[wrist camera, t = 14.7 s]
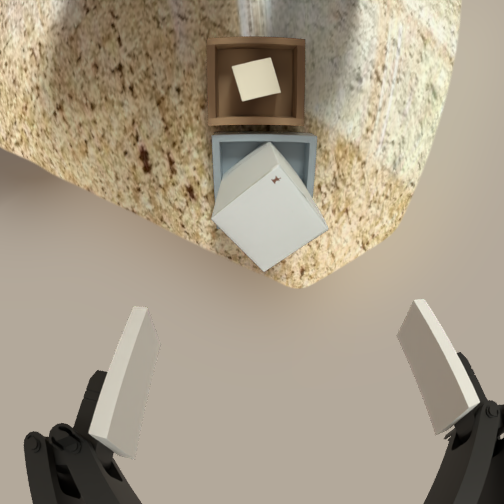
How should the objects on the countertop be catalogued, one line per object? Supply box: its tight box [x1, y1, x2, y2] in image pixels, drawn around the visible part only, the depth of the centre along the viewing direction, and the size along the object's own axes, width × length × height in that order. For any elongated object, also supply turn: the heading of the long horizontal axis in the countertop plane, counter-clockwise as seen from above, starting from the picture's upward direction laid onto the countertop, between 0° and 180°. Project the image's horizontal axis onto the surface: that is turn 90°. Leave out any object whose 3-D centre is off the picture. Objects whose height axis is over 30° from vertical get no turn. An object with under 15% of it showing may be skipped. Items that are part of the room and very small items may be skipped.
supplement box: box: [211, 141, 328, 272], centre depth 27 cm, size 7×7×13 cm
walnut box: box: [207, 37, 305, 126], centre depth 25 cm, size 10×10×4 cm
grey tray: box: [212, 131, 317, 229], centre depth 32 cm, size 12×12×3 cm
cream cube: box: [232, 57, 281, 101], centre depth 25 cm, size 4×4×4 cm
